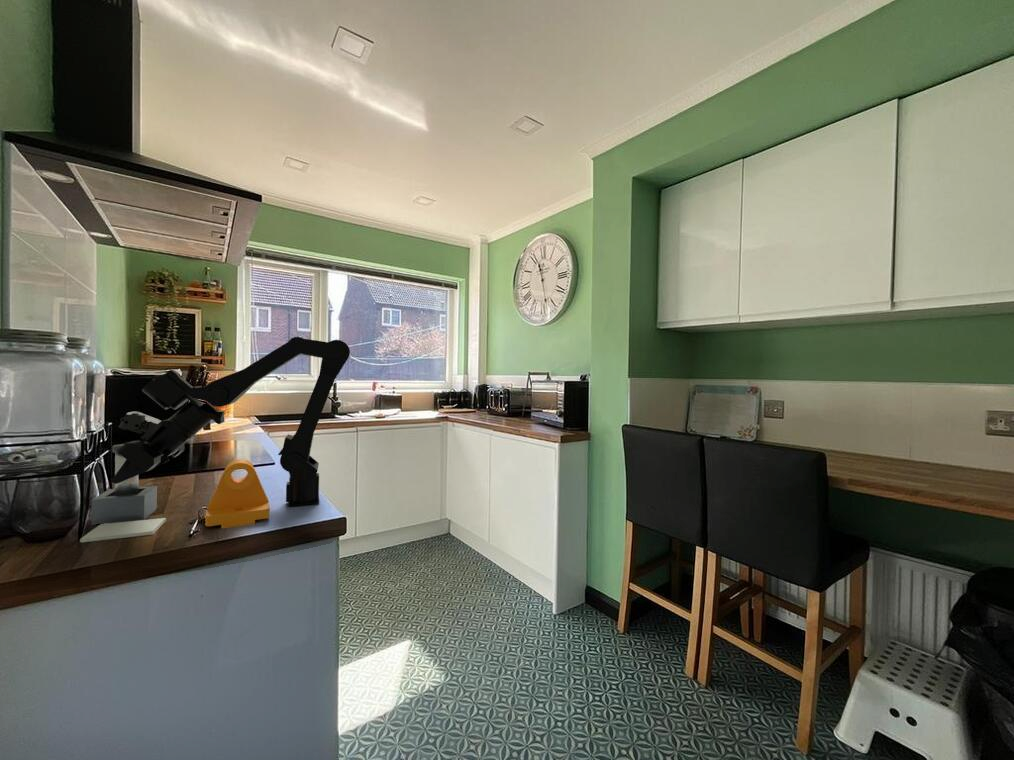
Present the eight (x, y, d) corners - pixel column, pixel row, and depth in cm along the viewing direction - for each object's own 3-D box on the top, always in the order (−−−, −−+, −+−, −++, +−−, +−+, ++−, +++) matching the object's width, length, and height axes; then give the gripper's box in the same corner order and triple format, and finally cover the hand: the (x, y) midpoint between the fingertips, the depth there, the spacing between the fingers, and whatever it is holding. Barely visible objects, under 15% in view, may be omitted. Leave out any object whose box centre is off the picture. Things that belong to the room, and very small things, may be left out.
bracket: (204, 531, 80) (206, 468, 80) (207, 519, 86) (208, 461, 86) (269, 521, 85) (271, 463, 85) (267, 511, 92) (268, 457, 92)
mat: (165, 520, 85) (166, 517, 85) (153, 534, 77) (153, 531, 77) (100, 527, 80) (100, 524, 80) (80, 542, 73) (80, 539, 73)
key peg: (143, 500, 89) (144, 443, 89) (136, 506, 85) (137, 446, 85) (116, 502, 87) (117, 444, 87) (108, 508, 84) (108, 447, 83)
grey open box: (156, 508, 92) (157, 485, 92) (144, 520, 85) (144, 495, 85) (108, 513, 88) (109, 489, 88) (91, 525, 81) (91, 499, 81)
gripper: (168, 396, 96) (105, 446, 92) (131, 400, 79) (52, 462, 75) (208, 429, 99) (150, 479, 95) (181, 440, 82) (108, 502, 78)
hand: (118, 480), depth 86 cm, fingers closed on key peg, 4 cm apart
